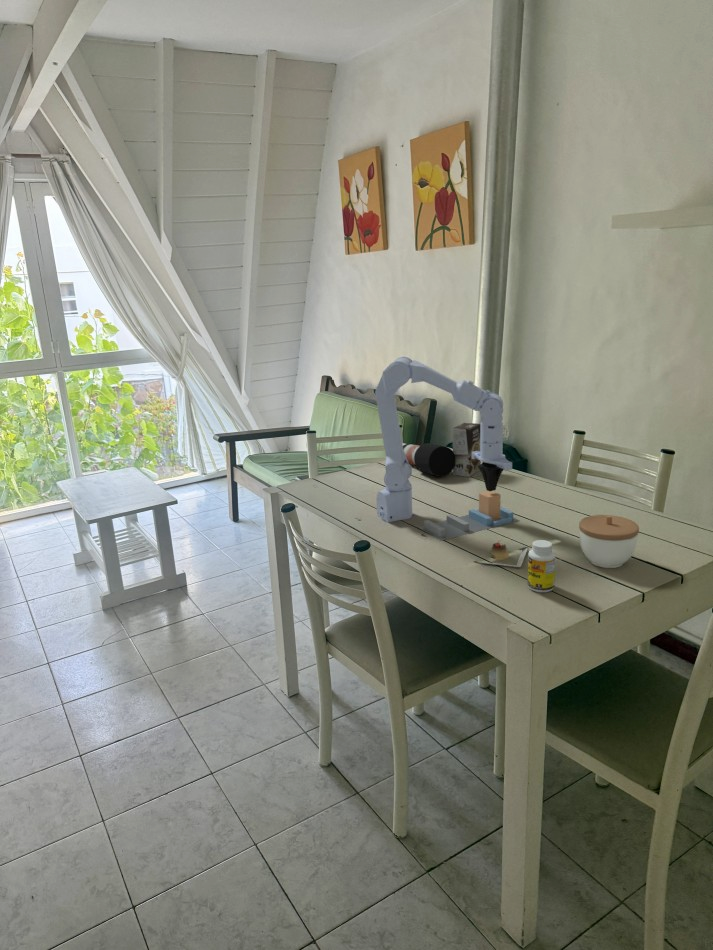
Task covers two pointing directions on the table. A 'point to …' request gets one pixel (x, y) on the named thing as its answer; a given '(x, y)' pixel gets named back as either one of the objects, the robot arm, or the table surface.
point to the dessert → (504, 554)
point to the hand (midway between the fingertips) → (491, 490)
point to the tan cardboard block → (490, 504)
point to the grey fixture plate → (466, 524)
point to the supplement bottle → (541, 566)
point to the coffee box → (466, 448)
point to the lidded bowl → (608, 539)
